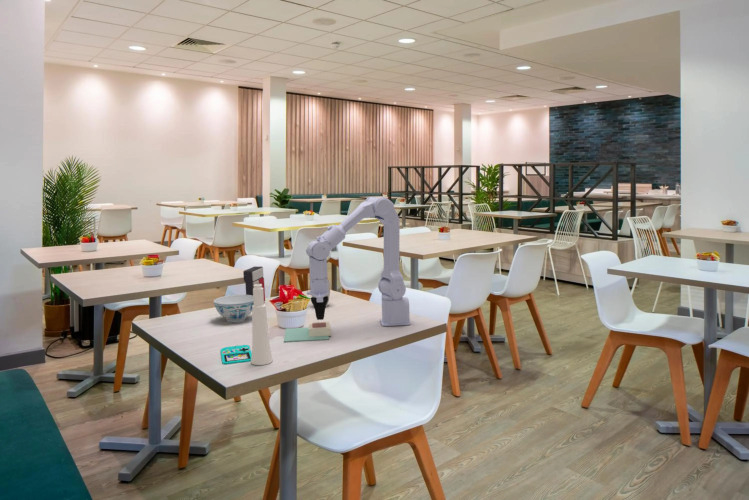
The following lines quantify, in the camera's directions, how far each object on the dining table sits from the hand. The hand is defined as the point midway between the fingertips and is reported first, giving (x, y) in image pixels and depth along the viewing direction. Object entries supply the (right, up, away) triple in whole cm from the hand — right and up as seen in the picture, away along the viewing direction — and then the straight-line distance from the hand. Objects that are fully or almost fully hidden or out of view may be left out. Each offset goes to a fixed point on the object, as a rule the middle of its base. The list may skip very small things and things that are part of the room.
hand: (320, 319), depth 177 cm
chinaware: (-33, -3, +21) cm, 39 cm away
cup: (-4, 0, +38) cm, 38 cm away
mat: (-4, -5, 0) cm, 7 cm away
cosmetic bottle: (-14, -9, -25) cm, 30 cm away
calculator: (-30, 0, +43) cm, 53 cm away
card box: (+3, -3, +1) cm, 5 cm away
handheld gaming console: (-23, -9, -18) cm, 30 cm away
